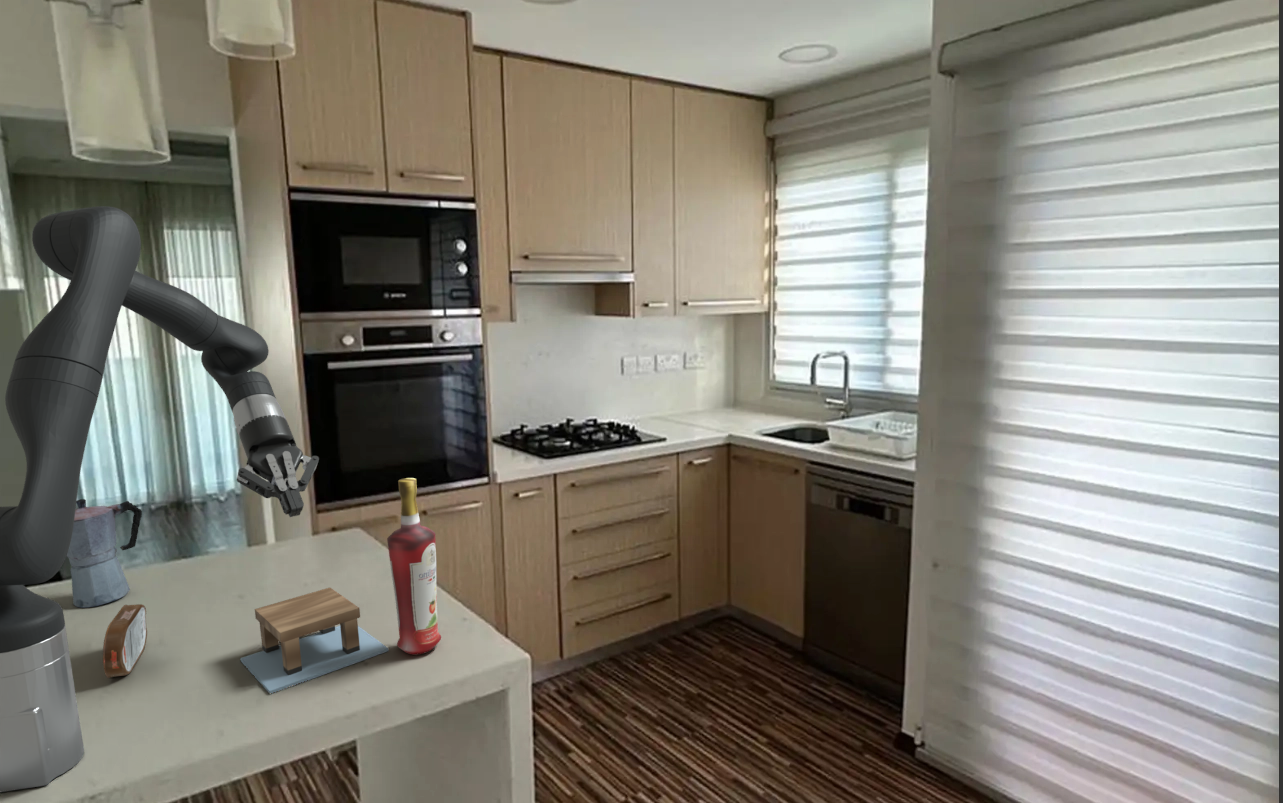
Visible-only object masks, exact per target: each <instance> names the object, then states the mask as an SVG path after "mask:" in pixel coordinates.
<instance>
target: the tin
mask: <svg viewBox="0 0 1283 803" xmlns="http://www.w3.org/2000/svg"><path fill="white" fill-rule="evenodd" d="M104 635H105V636H104V638H103V639H104V640H103V644H102V645H103V646H102V647H103V648H102V665H103V671H104V674H105V675H104V676H106V678H107V679H111V678H115V677H123V676H127V675H130V673H132V671H133V670H134V668H135V666H136V664H137V662H138V661H139V659H140V658H141V656H142V655H143V652H144V650H145V647H146V645H147V644H146V643H147V638H148V628H147V609H146V606H145V605H144V604H142V603H140V604H139V603H138V604H137V603H136V604H123V606H122V607H121V608H120V610H118V612H117V614H116V615H115V616H114V618H113V619H112V620H111V621H110V623H109V624H108V626H107V629H106V631H105V634H104Z"/></svg>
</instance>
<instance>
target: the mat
mask: <svg viewBox="0 0 1283 803" xmlns="http://www.w3.org/2000/svg"><path fill="white" fill-rule="evenodd" d="M358 633H359V645H360V650H359V651H356V652H353V653H350V654H346V653H345V652H344V651H343V650H342V639H341V628H340V625H336V626H335V631H332V632H329V633H326V634H322V633H321V632H320V631H318V632H315V633H312V634H309V635H306V636H303V637H300V638H299V645H300V654H301V664H302V671H300V672H297V673H294V674H291V675H287V674H286V673H285V671H284V668H283V658H282V649H281V644H279V647H280V649H278V650H275V651H272V652H269V653H266V652H265V651H264V650H261V651H258V652H254V653H253V654H249V655H247V656H243V657H240V663H242V665H244V667H245V666H246V667H245V668H246V669H247V668H248V669H247V670H248V671H249V673H251V675H252V676H253V675H254V676H255V677H254V676H253V677H254V678H255V679H256V680H257V682H259V684H260V685H261V684H262V685H263V686H264V687H263V686H262V685H261V686H262V687H263V688H264V689H265V691H266V692H267V693H268V694H269V693H272V694H274V693H273V692H275V693H277V692H276V691H278V692H280V691H279V690H281V691H283V690H285V689H284V688H286V689H288V688H287V687H289V686H291V687H293V686H292V685H294V686H297V685H299V684H298V683H300V684H302V683H304V681H305V682H308V681H310V680H313V679H316V678H319V677H321V676H324V675H326V674H329V673H332V672H335V671H337V670H340V669H344V668H346V667H348V666H351V665H354V664H357V663H359V662H362V661H365V660H368V659H370V658H372V657H373V658H374V657H376V656H378V655H381V654H384V653H386V652H389V647H388V646H386V645H384V643H382V642H381V641H379V640H378V639H377V638H376V637H374V636H372V635H371V634H370V633H368V631H366V630H364V629H363V628H362V627H360V626H359V625H358ZM307 680H308V681H307ZM301 682H302V683H301ZM296 684H297V685H296ZM289 688H290V687H289ZM282 689H283V690H282Z"/></svg>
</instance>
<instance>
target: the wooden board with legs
mask: <svg viewBox="0 0 1283 803" xmlns="http://www.w3.org/2000/svg"><path fill="white" fill-rule="evenodd" d="M254 617H255V619H256V621H257V622H259V629H260V630H259V631H260V637H261V638H260V639H261V648H262V651H265V652H266V653H269V652H272V651H275V650H278V649H280V647H279V645H281V649H282V658H283V668H284V671H285V673H286V674H287V675H291V674H294V673H297V672H300V671H302V664H301V654H300V645H299V639H300V638H302V637H305V636H308V635H312V634H315V633H318V632H321V633H322V634H326V633H329V632H332V631H335V627H336V626H340V628H341V639H342V650H343V651H344V652H345V653H346V654H350V653H353V652H356V651H359V650H360V645H359V633H358V626H359V625H358V624H359V622H358V619H360V618H361V609H360V607H359V606H358V605H356V604H355V603H353V602H352V601H351V600H349V599H347V598H346V597H344V596H343V595H342V594H341V593H339V592H337V591H336V590H335V589H334V588H332V587H326V588H323V589H320V590H316V591H313V592H309V593H306V594H301V595H299V596H296V597H295V596H294V597H292V598H289V599H286V600H281V601H278V602H275V603H272V604H268V605H264V606H261V607H258V608H254Z"/></svg>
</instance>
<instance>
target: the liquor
mask: <svg viewBox="0 0 1283 803" xmlns="http://www.w3.org/2000/svg"><path fill="white" fill-rule="evenodd" d="M397 482H398V492H399V496H400V501H401V504H400V528H398V529H396V530H394V531H393V532H392V533H391V534H389V535H388V537H387V539H386V540H387V549H388V556H389V564H390V566H389V567H390V572H391V578H392V586H393V592H394V600H395V609H396V616H397V617H396V618H397V624H398V635H399V638H398V640H397V642H396V645H397V647H398V648H399V649H400V650H402V651H403V652H405V653H407V654H408V655H410V656H411V655H415V656H417V655H423V654H426V653H429V652H430V651H432V650H433V649H434V648H435V647H436V646H437V645H438V644H439V643H440V641H442V635H441V634H440V632H439V628H438V604H437V603H438V602H437V600H438V599H437V597H438V596H437V550H436V548H437V546H436V544H437V542H436V532H435V531H434V530H433V529H431V528H429V527H428V526H424V525H421V520H420V516H419V515H420V514H419V509H418V504H417V492H418V491H417V490H418V488H417V486H418V485H417V478H414V477H406V478H401V479H399V480H398V481H397Z"/></svg>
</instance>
